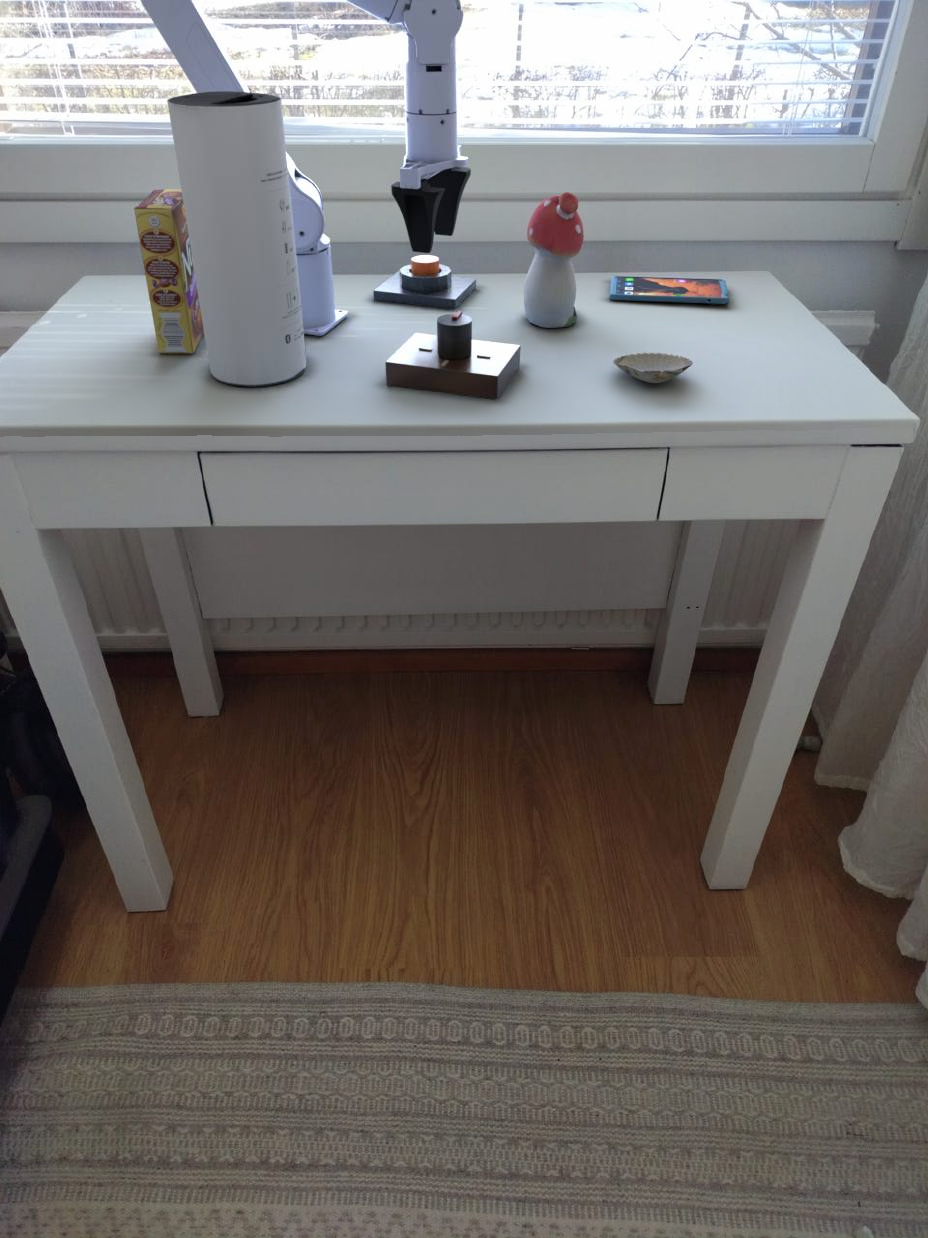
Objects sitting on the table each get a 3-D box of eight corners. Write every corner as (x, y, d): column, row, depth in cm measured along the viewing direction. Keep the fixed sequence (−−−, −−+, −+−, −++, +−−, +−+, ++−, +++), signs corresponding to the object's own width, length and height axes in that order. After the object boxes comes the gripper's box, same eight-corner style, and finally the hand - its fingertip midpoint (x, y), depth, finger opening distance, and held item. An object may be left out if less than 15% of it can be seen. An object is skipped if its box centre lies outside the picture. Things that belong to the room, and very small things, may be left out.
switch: (407, 275, 117) (407, 261, 116) (417, 267, 120) (416, 253, 119) (434, 278, 116) (434, 263, 115) (443, 270, 119) (443, 256, 118)
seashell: (676, 381, 101) (607, 361, 101) (687, 354, 100) (617, 333, 99) (688, 399, 94) (614, 378, 93) (700, 370, 93) (624, 348, 92)
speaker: (256, 344, 105) (221, 81, 89) (329, 362, 100) (306, 89, 85) (189, 375, 97) (138, 94, 82) (265, 396, 93) (227, 103, 77)
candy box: (197, 354, 102) (171, 207, 93) (158, 355, 102) (128, 208, 93) (212, 326, 109) (189, 187, 100) (175, 327, 109) (149, 187, 100)
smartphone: (611, 275, 124) (725, 278, 122) (610, 285, 125) (724, 289, 123) (609, 291, 117) (730, 295, 115) (608, 302, 118) (728, 306, 116)
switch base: (373, 299, 117) (372, 275, 116) (398, 279, 124) (397, 256, 123) (455, 308, 115) (455, 284, 113) (476, 287, 122) (476, 264, 120)
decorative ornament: (578, 334, 108) (589, 197, 99) (522, 332, 108) (529, 195, 99) (574, 307, 115) (584, 178, 106) (522, 306, 116) (528, 177, 107)
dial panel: (386, 384, 96) (385, 360, 94) (415, 354, 103) (415, 330, 101) (497, 399, 93) (497, 374, 91) (519, 367, 100) (520, 343, 98)
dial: (465, 360, 94) (466, 324, 92) (432, 356, 95) (432, 320, 93) (475, 348, 97) (476, 312, 95) (443, 344, 98) (443, 309, 96)
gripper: (444, 123, 92) (445, 263, 101) (486, 103, 103) (484, 230, 112) (379, 119, 94) (385, 256, 102) (428, 99, 105) (429, 225, 113)
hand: (433, 242), depth 107 cm, fingers open, 7 cm apart
